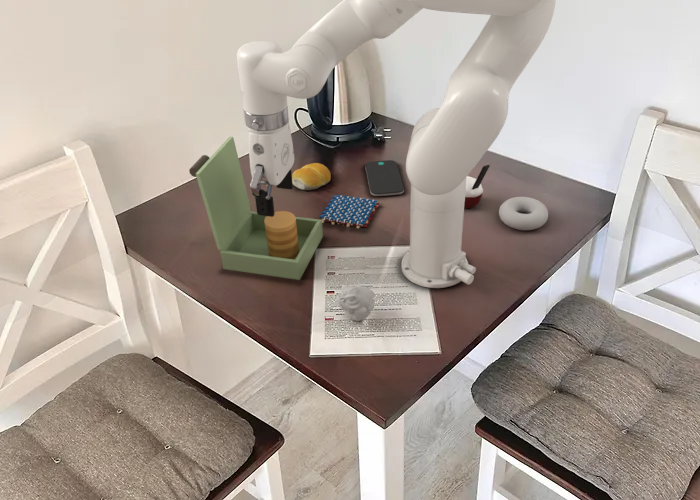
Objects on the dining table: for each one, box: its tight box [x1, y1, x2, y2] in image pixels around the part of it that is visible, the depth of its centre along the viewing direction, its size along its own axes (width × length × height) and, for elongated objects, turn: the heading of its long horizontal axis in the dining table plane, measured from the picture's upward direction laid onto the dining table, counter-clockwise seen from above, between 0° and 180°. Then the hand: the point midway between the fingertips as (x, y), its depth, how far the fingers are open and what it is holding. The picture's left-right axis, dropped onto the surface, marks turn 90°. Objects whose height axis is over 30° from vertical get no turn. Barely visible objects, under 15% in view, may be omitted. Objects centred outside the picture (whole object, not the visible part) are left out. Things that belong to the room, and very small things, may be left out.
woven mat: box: [319, 194, 380, 229], centre depth 141 cm, size 10×11×2 cm
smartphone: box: [364, 159, 405, 197], centre depth 153 cm, size 8×1×15 cm
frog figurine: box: [335, 284, 376, 322], centre depth 113 cm, size 6×7×7 cm
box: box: [219, 210, 324, 281], centre depth 130 cm, size 16×15×5 cm
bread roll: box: [292, 162, 332, 191], centre depth 153 cm, size 8×9×4 cm
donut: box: [498, 196, 549, 231], centre depth 137 cm, size 10×4×10 cm
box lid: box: [189, 136, 252, 251], centre depth 126 cm, size 16×15×5 cm
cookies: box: [264, 210, 299, 259], centre depth 128 cm, size 6×6×8 cm
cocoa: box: [464, 164, 491, 209], centre depth 139 cm, size 10×6×12 cm, turn 6°
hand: (275, 201), depth 123 cm, fingers open, 9 cm apart
